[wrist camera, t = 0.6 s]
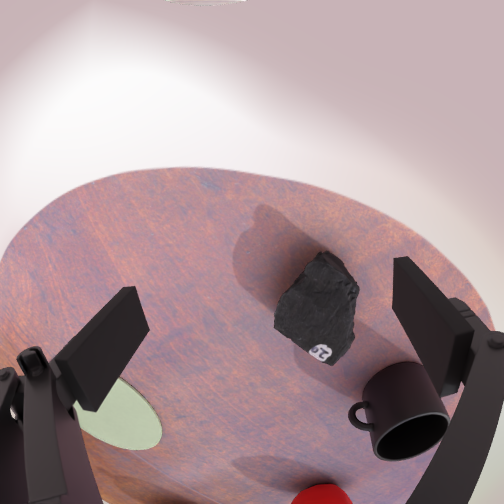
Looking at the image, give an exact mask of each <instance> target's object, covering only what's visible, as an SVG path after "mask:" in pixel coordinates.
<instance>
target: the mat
mask: <svg viewBox="0 0 504 504" xmlns="http://www.w3.org/2000/svg"><path fill="white" fill-rule="evenodd" d="M73 406H74V408H75V409H76V411H77V415H78V420H79V424H80V427H81V428H82V429H83V430H85V431H86V432H88V433H89V434H91V435H92V436H94V437H96V438H98V439H99V440H101V441H104V442H106V443H108V444H111V445H113V446H117V447H120V448H124V449H130V450H145V449H149V448H151V447H154V446H155V445H156V444H157V443H158V442H159V441H160V439H161V436H162V425H161V422H160V419H159V417H158V415H157V414H156V412H155V410H154V409H153V408H152V406H151V405H150V404H149V402H148V401H147V400H146V399H145V398H144V397H143V396H142V395H141V394H140V393H139V392H138V391H137V390H136V389H135V388H133V387H132V386H131V385H130V384H128V383H127V382H126V381H124V380H123V379H122V378H120V377H119V378H118V379H117V381H116V382H115V384H114V385H113V387H112V389H111V390H110V392H109V393H108V395H107V396H106V398H105V400H104V401H103V403H102V404H101V406H100V408H99V409H98V411H97V412H90V411H85V410H83V409H82V408H81V406H80V405H79V403H78V401H77V400H76V402H75V403H74V405H73Z"/></svg>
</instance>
